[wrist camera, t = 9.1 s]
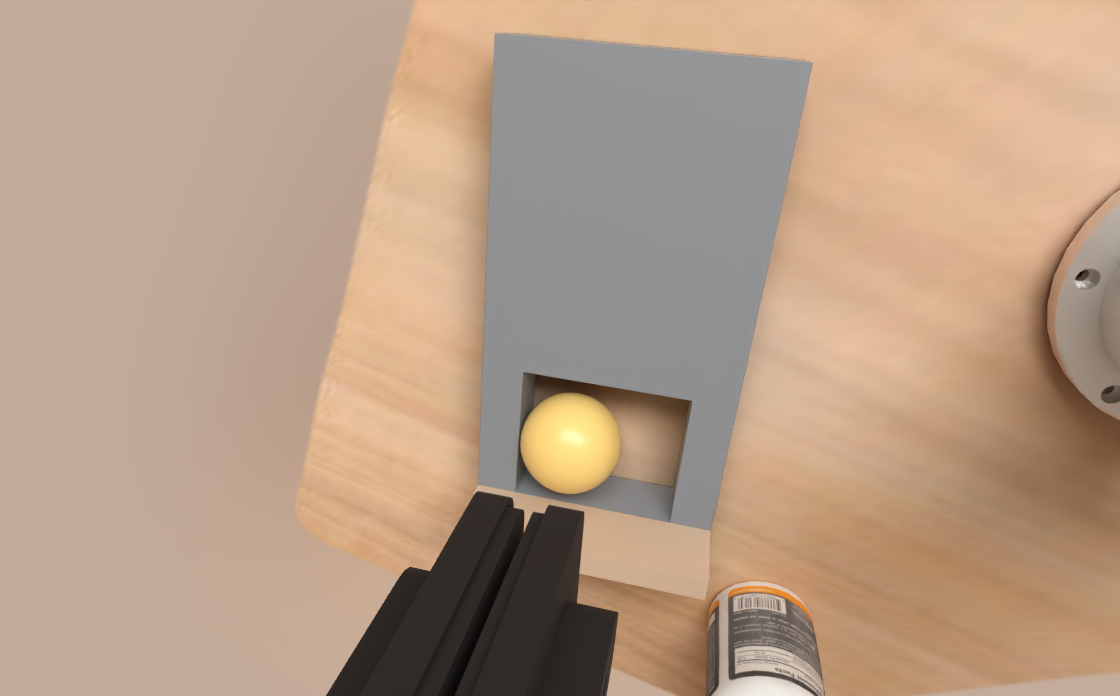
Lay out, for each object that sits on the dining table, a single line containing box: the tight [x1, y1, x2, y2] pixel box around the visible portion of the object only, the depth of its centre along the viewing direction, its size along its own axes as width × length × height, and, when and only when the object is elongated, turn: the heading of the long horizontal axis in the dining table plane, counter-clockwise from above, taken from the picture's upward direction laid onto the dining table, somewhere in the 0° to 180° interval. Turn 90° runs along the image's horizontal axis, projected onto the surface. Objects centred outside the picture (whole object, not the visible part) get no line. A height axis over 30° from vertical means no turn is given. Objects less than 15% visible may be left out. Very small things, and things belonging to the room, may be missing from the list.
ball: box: [520, 392, 621, 494], centre depth 35 cm, size 5×5×5 cm
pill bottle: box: [706, 581, 825, 696], centre depth 35 cm, size 6×6×10 cm
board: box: [458, 33, 813, 600], centre depth 31 cm, size 12×24×6 cm, turn 175°
